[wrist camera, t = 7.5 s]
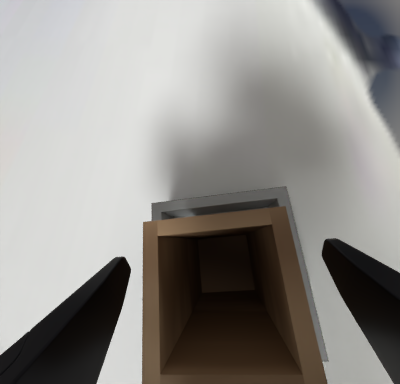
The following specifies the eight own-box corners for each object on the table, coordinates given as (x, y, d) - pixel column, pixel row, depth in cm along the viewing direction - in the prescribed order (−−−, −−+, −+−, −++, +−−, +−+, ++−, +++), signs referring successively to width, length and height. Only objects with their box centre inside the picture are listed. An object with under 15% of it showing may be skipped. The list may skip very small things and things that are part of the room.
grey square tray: (300, 328, 14) (328, 361, 10) (171, 332, 15) (152, 362, 11) (273, 199, 17) (286, 186, 13) (167, 211, 18) (151, 203, 14)
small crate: (262, 295, 14) (332, 402, 5) (196, 299, 15) (142, 398, 5) (251, 227, 16) (285, 206, 6) (192, 233, 17) (143, 221, 7)
